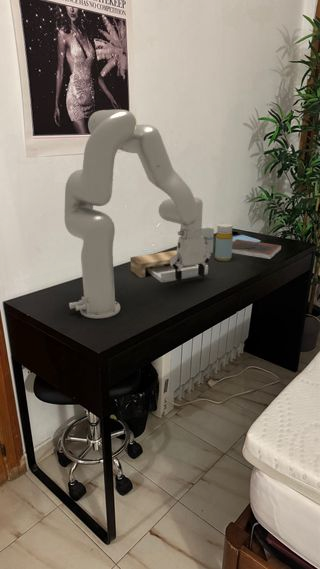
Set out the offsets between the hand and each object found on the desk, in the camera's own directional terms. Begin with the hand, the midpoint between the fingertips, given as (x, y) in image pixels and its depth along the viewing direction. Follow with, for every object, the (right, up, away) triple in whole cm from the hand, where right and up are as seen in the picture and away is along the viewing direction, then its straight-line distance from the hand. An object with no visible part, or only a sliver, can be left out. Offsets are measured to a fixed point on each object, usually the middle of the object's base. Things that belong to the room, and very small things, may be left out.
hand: (189, 277), depth 153 cm
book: (+31, +13, +37) cm, 50 cm away
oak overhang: (-7, +4, +14) cm, 16 cm away
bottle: (+16, +8, +25) cm, 31 cm away
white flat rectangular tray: (-5, +2, +9) cm, 11 cm away
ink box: (+8, +13, +37) cm, 40 cm away
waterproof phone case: (+30, +19, +52) cm, 63 cm away
